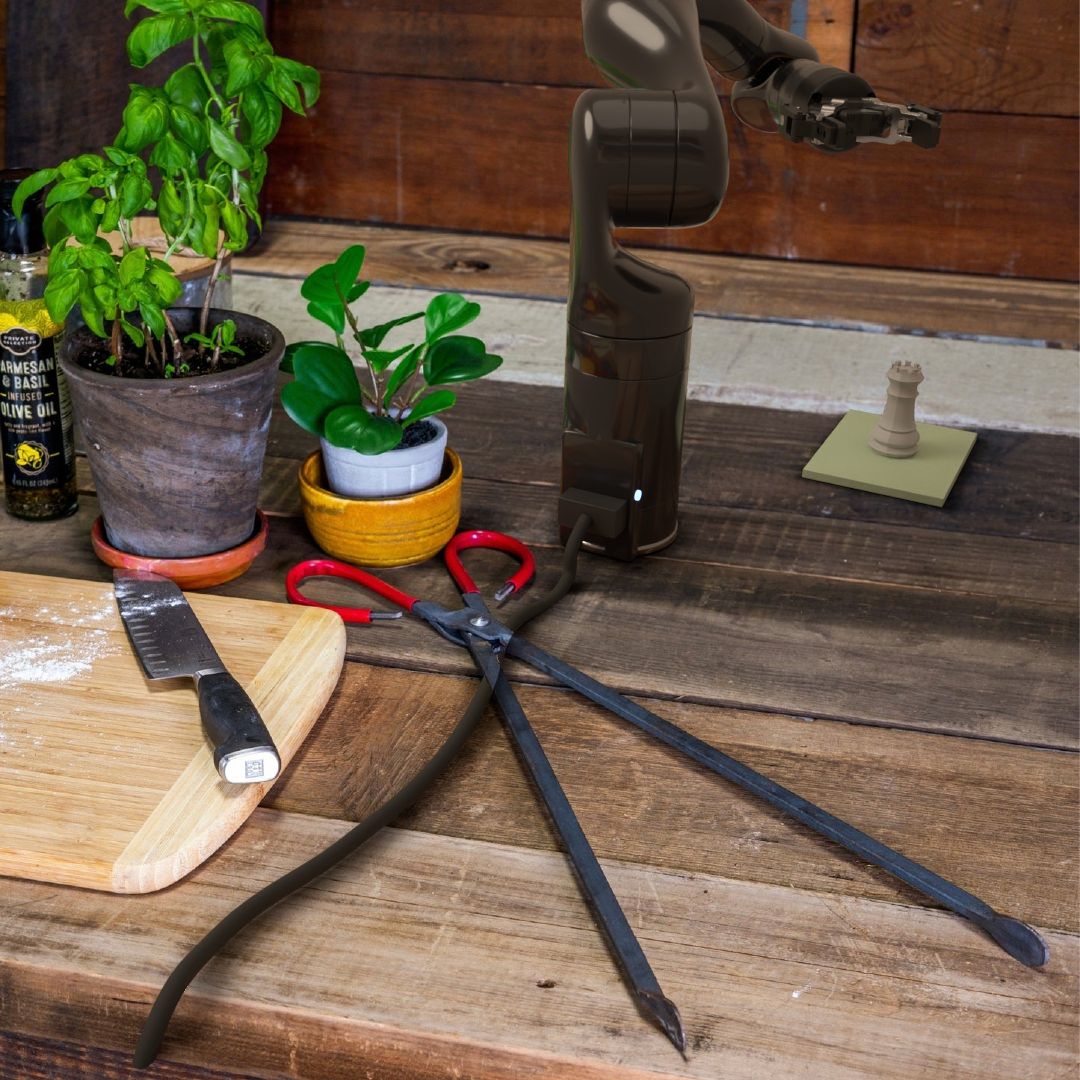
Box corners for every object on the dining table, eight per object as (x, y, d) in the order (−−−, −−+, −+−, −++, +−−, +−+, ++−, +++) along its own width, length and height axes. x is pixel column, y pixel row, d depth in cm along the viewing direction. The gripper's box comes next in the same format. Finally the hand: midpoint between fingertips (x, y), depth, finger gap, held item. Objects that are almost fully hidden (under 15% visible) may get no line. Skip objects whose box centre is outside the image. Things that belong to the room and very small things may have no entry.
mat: (942, 507, 104) (943, 498, 104) (801, 477, 109) (802, 469, 109) (976, 440, 117) (977, 433, 117) (849, 416, 122) (850, 408, 121)
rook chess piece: (909, 463, 110) (924, 377, 106) (860, 452, 112) (873, 367, 108) (924, 447, 114) (939, 363, 110) (876, 435, 116) (889, 353, 112)
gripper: (760, 66, 122) (815, 92, 108) (899, 67, 124) (972, 92, 110) (752, 146, 126) (805, 181, 111) (887, 145, 127) (956, 180, 113)
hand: (887, 137), depth 111 cm, fingers open, 8 cm apart
